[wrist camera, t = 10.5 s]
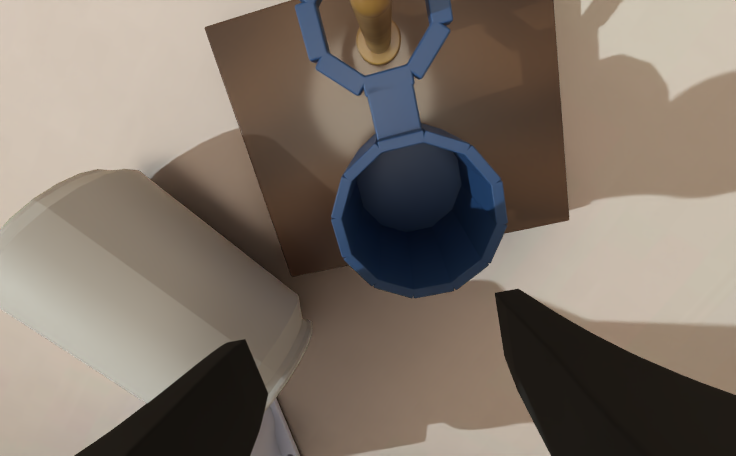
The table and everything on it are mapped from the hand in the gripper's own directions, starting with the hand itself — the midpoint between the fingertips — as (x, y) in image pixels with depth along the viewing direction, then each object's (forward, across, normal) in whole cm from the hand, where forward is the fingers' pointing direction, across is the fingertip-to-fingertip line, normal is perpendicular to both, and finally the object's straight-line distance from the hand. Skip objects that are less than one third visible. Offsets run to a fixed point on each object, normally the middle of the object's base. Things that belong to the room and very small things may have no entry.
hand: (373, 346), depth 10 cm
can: (+6, +13, -5) cm, 15 cm away
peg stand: (+9, -2, -5) cm, 11 cm away
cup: (+8, -2, -5) cm, 10 cm away
